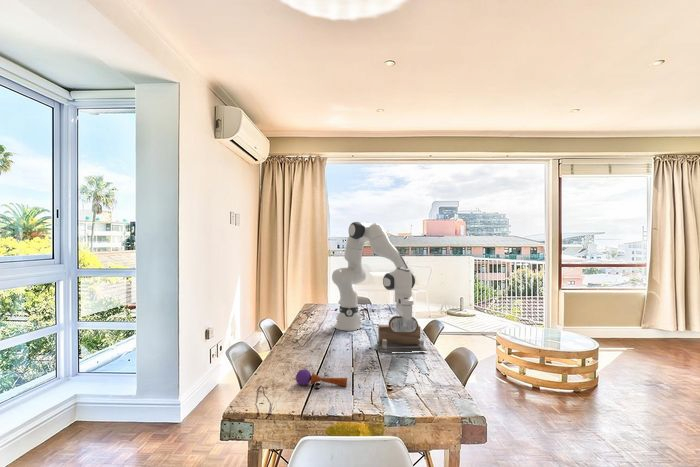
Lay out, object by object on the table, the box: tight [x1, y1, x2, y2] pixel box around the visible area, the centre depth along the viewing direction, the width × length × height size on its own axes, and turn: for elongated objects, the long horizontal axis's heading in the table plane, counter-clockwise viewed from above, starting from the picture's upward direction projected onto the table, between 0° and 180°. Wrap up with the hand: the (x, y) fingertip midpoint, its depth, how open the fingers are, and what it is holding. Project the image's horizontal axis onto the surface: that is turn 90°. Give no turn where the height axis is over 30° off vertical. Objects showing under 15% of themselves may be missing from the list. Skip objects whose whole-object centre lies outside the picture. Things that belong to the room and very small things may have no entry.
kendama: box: [295, 368, 348, 387], centre depth 135 cm, size 6×6×20 cm
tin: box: [388, 315, 419, 333], centre depth 179 cm, size 15×3×8 cm, turn 88°
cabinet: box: [376, 324, 428, 354], centre depth 182 cm, size 16×23×10 cm
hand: (403, 325), depth 179 cm, fingers closed on tin, 3 cm apart
